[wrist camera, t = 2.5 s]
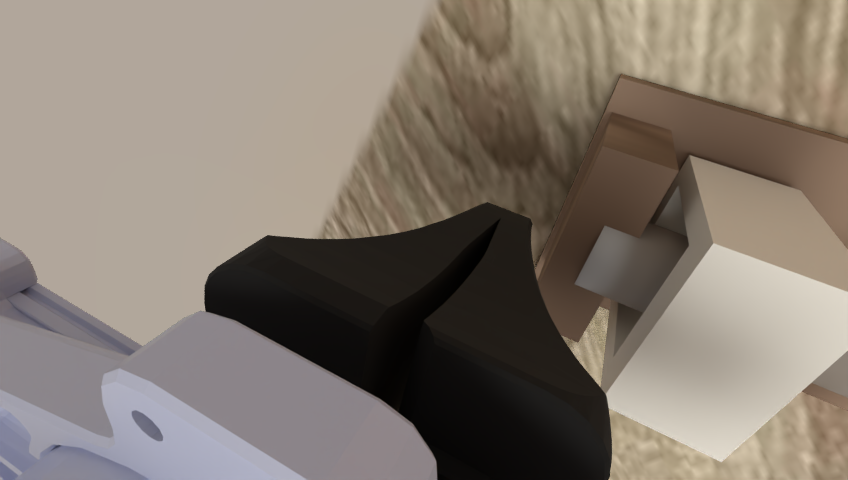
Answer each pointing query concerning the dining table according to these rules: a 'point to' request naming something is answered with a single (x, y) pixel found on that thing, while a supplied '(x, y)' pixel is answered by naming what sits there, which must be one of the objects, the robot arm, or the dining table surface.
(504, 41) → the dining table surface
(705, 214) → the collar
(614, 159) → the rail
